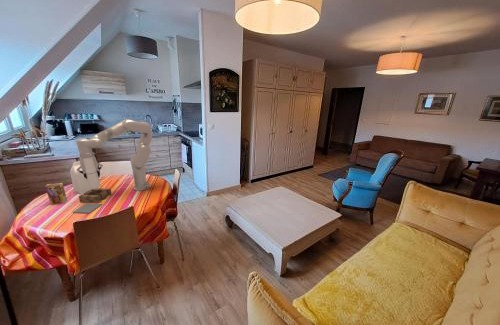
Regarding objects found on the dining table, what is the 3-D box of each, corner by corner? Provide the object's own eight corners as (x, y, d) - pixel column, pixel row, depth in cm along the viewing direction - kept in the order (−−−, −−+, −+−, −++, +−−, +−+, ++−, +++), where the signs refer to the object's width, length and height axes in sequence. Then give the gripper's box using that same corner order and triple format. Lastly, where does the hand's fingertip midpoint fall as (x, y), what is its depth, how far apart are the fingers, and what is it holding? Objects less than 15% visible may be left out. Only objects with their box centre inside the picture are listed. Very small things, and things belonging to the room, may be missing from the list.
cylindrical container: (90, 189, 152) (81, 159, 144) (89, 186, 157) (80, 156, 149) (101, 187, 157) (93, 157, 149) (100, 184, 162) (92, 155, 153)
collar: (111, 194, 166) (110, 188, 165) (98, 202, 152) (97, 197, 151) (94, 193, 166) (93, 188, 165) (80, 202, 153) (78, 196, 151)
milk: (80, 194, 164) (72, 164, 156) (74, 190, 170) (66, 162, 162) (96, 189, 174) (90, 161, 166) (90, 185, 180) (83, 158, 172)
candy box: (68, 200, 154) (62, 182, 150) (65, 203, 151) (59, 184, 146) (53, 201, 152) (48, 183, 147) (50, 204, 148) (44, 186, 143)
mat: (102, 204, 150) (101, 203, 149) (89, 213, 138) (89, 212, 138) (86, 204, 150) (86, 203, 150) (72, 213, 138) (72, 212, 138)
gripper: (100, 152, 156) (105, 172, 162) (71, 156, 145) (77, 178, 151) (101, 154, 151) (106, 175, 157) (71, 158, 140) (78, 181, 146)
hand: (92, 176), depth 154 cm, fingers closed on cylindrical container, 7 cm apart
